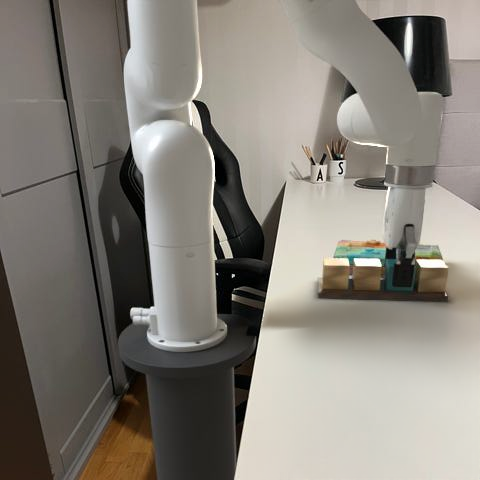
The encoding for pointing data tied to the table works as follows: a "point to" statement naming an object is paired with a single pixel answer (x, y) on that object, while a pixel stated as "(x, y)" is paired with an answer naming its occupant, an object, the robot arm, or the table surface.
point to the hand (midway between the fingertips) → (397, 277)
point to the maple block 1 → (335, 273)
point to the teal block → (389, 274)
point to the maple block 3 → (430, 275)
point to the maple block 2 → (366, 274)
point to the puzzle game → (379, 252)
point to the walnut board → (380, 294)
